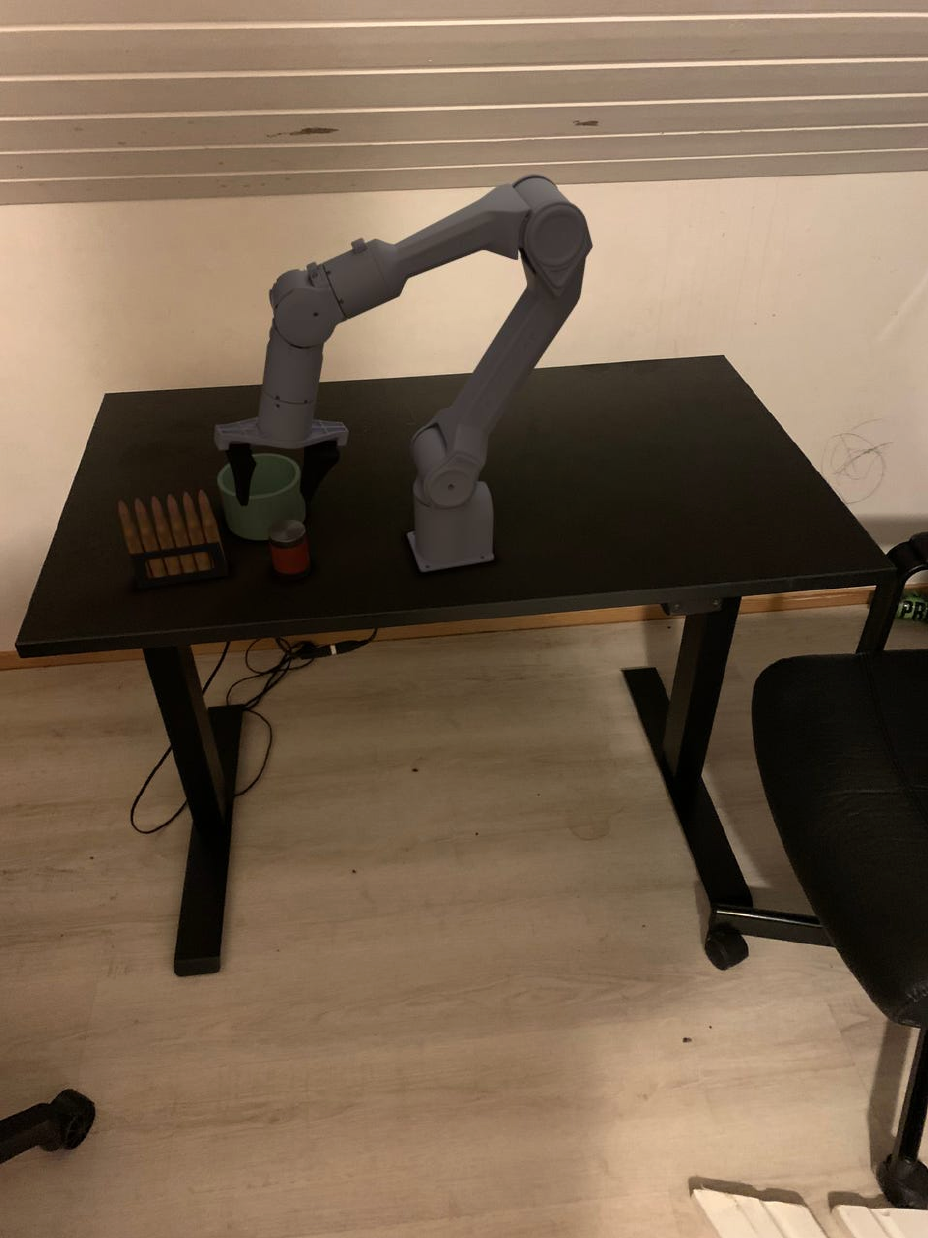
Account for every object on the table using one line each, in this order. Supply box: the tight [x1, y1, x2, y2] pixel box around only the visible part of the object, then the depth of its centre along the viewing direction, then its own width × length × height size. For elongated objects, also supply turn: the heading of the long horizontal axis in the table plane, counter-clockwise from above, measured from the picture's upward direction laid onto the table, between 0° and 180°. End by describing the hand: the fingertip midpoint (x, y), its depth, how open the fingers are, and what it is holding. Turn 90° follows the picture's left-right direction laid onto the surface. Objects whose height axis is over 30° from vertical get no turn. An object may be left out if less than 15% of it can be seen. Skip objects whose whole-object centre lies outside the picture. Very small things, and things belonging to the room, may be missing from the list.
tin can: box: [268, 520, 312, 582], centre depth 105 cm, size 4×4×6 cm
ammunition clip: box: [118, 489, 230, 590], centre depth 101 cm, size 11×2×12 cm, turn 104°
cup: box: [216, 452, 307, 541], centre depth 113 cm, size 10×10×6 cm
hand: (274, 498), depth 99 cm, fingers open, 7 cm apart
